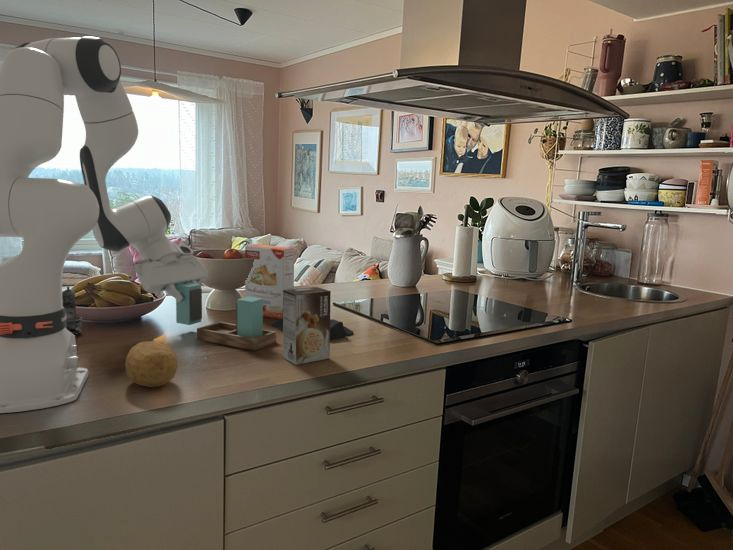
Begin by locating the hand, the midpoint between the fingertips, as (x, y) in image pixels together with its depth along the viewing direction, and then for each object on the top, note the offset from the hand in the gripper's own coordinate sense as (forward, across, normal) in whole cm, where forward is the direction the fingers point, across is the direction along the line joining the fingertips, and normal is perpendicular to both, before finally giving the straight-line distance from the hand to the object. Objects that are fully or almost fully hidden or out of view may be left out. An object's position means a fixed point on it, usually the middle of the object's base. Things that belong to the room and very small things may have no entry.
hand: (190, 298), depth 144 cm
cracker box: (+10, +27, +2) cm, 29 cm away
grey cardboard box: (+33, -2, -19) cm, 38 cm away
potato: (+21, -32, -7) cm, 39 cm away
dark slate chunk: (+25, +19, -11) cm, 33 cm away
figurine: (-11, -17, +24) cm, 31 cm away
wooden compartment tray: (+17, 0, -4) cm, 17 cm away
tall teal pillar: (+4, 0, +5) cm, 6 cm away
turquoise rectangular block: (+19, 0, -7) cm, 20 cm away
